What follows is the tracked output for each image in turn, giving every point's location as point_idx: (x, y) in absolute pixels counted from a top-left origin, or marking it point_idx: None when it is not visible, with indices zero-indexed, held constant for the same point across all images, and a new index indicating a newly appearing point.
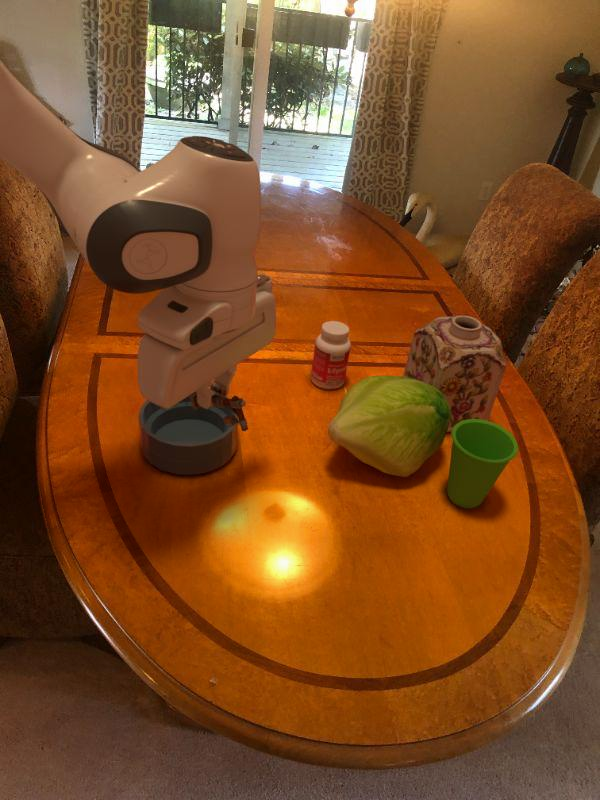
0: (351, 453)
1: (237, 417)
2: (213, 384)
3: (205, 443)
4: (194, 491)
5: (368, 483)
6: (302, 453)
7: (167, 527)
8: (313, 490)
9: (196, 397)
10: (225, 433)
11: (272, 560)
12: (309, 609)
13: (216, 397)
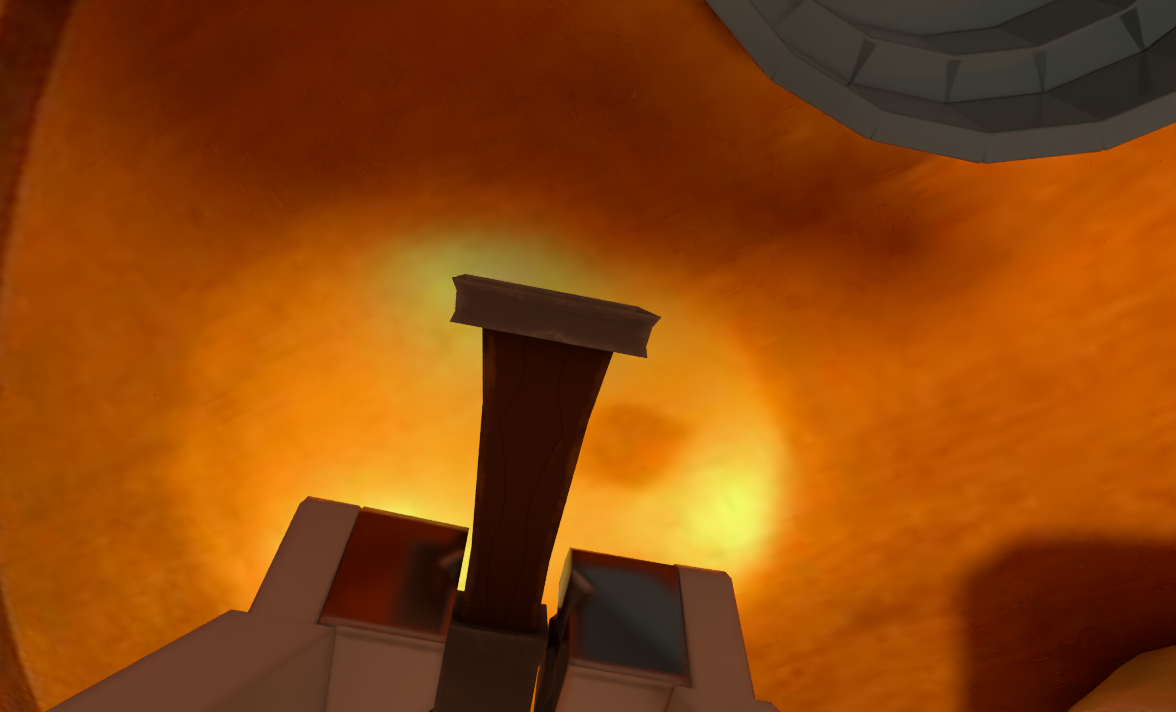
0: (1080, 704)
1: (1151, 130)
2: (575, 708)
3: (763, 59)
4: (577, 28)
5: (974, 706)
6: (1096, 414)
7: (272, 35)
8: (842, 539)
9: (505, 349)
10: (929, 138)
11: None
12: None
13: (520, 655)
